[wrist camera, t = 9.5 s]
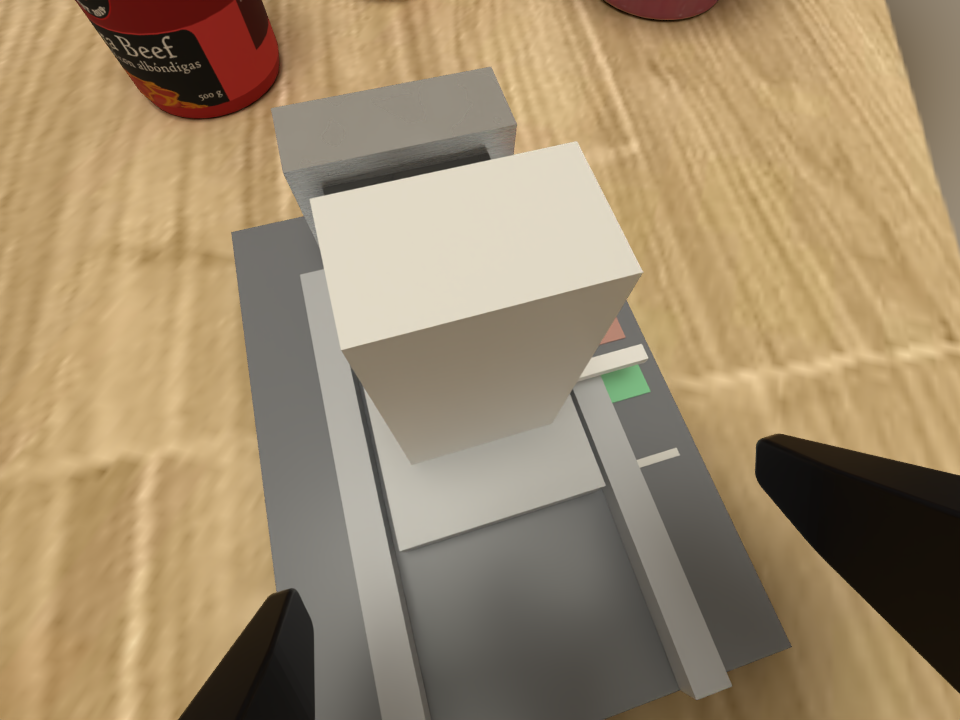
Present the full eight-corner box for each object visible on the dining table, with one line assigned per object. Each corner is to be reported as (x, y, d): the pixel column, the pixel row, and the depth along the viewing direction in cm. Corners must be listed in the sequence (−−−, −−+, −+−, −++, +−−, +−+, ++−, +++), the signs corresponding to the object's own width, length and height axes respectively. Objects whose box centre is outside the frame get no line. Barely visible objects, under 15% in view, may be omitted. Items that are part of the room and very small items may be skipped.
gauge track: (770, 640, 17) (816, 653, 15) (318, 813, 15) (292, 858, 13) (555, 177, 25) (563, 140, 23) (243, 248, 23) (218, 214, 21)
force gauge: (671, 467, 18) (947, 340, 7) (405, 551, 16) (299, 539, 6) (586, 278, 21) (700, 7, 11) (357, 337, 20) (233, 92, 9)
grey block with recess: (507, 240, 22) (520, 132, 16) (334, 281, 21) (284, 181, 15) (485, 184, 23) (491, 66, 18) (320, 221, 22) (270, 108, 17)
